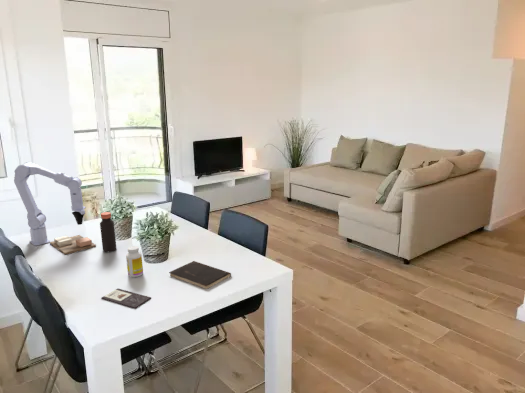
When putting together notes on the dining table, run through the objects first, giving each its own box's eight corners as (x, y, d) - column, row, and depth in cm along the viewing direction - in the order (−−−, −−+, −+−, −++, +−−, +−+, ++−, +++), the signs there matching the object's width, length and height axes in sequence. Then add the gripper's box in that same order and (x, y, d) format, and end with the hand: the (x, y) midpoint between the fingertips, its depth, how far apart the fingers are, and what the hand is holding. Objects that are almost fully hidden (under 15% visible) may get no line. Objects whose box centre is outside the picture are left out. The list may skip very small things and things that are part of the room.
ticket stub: (76, 244, 229) (75, 239, 228) (87, 241, 233) (86, 237, 232) (80, 247, 225) (80, 242, 224) (92, 244, 229) (91, 239, 228)
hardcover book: (206, 290, 180) (206, 285, 180) (169, 276, 194) (169, 272, 193) (231, 277, 193) (231, 272, 192) (194, 264, 206) (194, 260, 205)
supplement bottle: (146, 272, 197) (143, 246, 194) (137, 278, 191) (135, 251, 188) (133, 270, 199) (131, 244, 196) (125, 276, 193) (122, 249, 190)
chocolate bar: (135, 307, 165) (101, 297, 173) (135, 309, 165) (101, 299, 174) (151, 297, 173) (118, 288, 181) (151, 299, 173) (118, 290, 181)
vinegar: (107, 253, 220) (103, 216, 214) (100, 250, 224) (96, 213, 219) (119, 249, 225) (115, 213, 219) (112, 246, 229) (108, 210, 224)
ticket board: (50, 243, 234) (49, 237, 233) (79, 236, 244) (78, 230, 244) (65, 254, 218) (64, 248, 218) (96, 246, 229) (95, 240, 228)
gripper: (89, 201, 230) (92, 225, 234) (79, 196, 240) (82, 219, 244) (76, 204, 226) (79, 228, 229) (66, 198, 236) (69, 222, 239)
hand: (79, 224), depth 236 cm, fingers closed
